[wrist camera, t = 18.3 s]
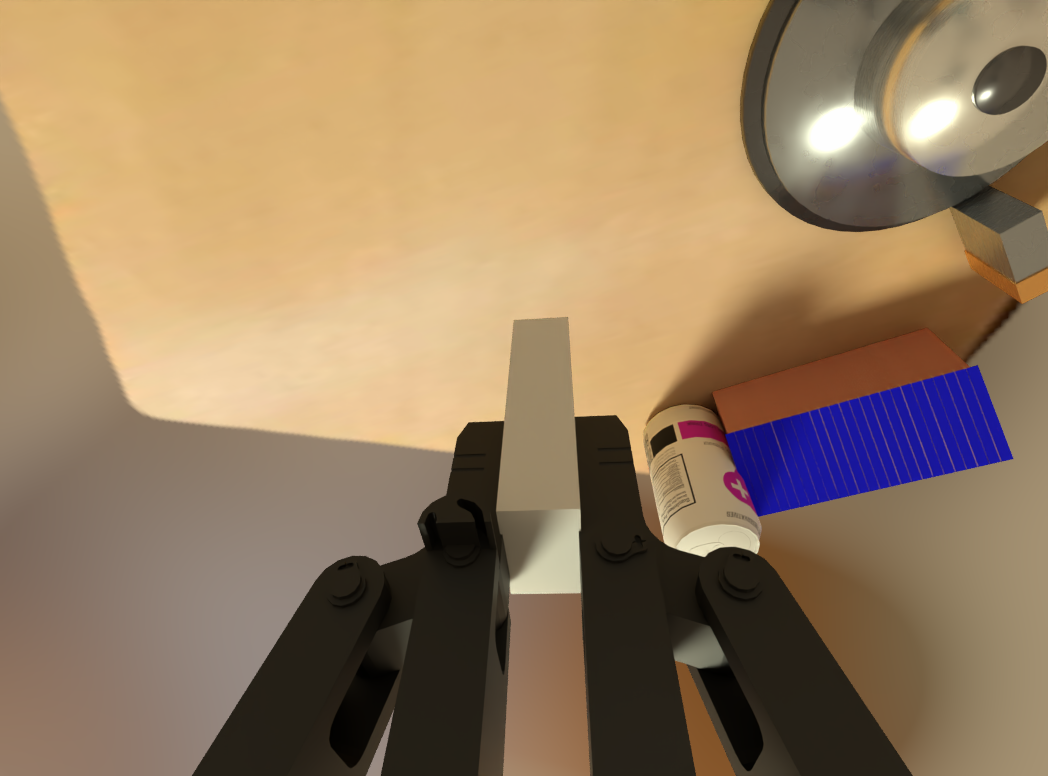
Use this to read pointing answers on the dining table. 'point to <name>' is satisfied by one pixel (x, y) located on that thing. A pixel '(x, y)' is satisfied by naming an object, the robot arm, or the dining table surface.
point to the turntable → (879, 151)
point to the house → (859, 423)
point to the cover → (957, 83)
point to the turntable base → (752, 120)
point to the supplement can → (698, 483)
